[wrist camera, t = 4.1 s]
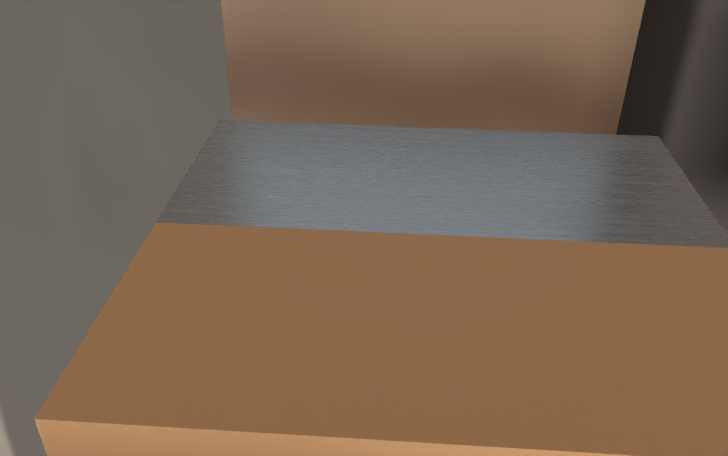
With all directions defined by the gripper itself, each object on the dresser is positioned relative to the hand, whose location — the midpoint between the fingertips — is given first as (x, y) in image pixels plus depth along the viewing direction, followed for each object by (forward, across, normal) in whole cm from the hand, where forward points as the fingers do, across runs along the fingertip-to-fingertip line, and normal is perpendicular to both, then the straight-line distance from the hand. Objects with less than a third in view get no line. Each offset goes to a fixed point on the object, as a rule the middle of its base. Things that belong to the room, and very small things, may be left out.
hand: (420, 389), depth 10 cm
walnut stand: (+12, 0, 0) cm, 12 cm away
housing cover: (-2, 0, 0) cm, 2 cm away
